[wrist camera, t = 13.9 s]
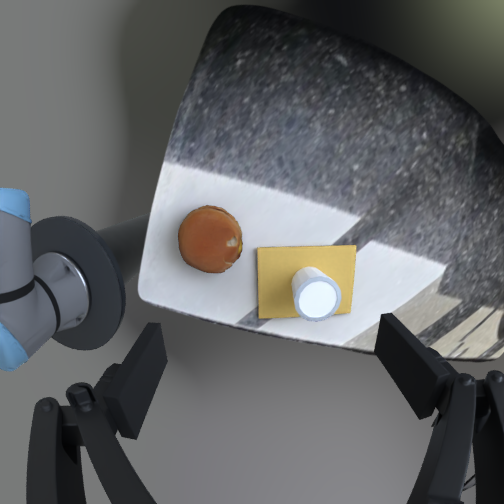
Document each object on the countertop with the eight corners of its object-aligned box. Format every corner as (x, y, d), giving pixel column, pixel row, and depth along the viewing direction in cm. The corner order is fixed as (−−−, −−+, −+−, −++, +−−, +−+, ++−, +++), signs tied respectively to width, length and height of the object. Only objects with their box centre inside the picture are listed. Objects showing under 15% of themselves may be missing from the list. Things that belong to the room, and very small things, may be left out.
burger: (172, 219, 42) (164, 223, 38) (227, 196, 42) (225, 197, 37) (197, 276, 44) (191, 286, 40) (251, 256, 44) (252, 264, 39)
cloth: (258, 317, 46) (258, 318, 46) (257, 247, 44) (257, 248, 43) (349, 312, 47) (350, 313, 46) (355, 245, 44) (356, 245, 43)
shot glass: (280, 295, 45) (286, 313, 38) (298, 256, 44) (307, 269, 37) (317, 308, 46) (328, 327, 39) (335, 271, 44) (349, 286, 37)
